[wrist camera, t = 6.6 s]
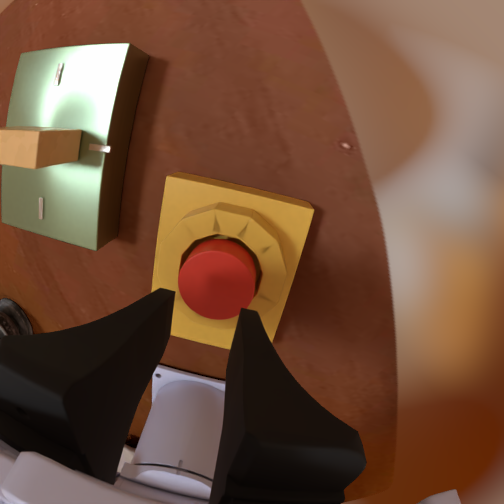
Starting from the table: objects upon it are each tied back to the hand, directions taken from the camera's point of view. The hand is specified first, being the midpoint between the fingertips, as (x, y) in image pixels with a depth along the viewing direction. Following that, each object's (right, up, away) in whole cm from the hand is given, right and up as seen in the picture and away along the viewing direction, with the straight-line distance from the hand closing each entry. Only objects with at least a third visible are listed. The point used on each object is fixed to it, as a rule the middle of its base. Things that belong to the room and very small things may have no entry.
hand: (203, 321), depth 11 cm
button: (0, +2, +4) cm, 5 cm away
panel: (-10, +10, +6) cm, 15 cm away
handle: (-10, +9, +3) cm, 14 cm away
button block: (0, +2, +8) cm, 8 cm away
